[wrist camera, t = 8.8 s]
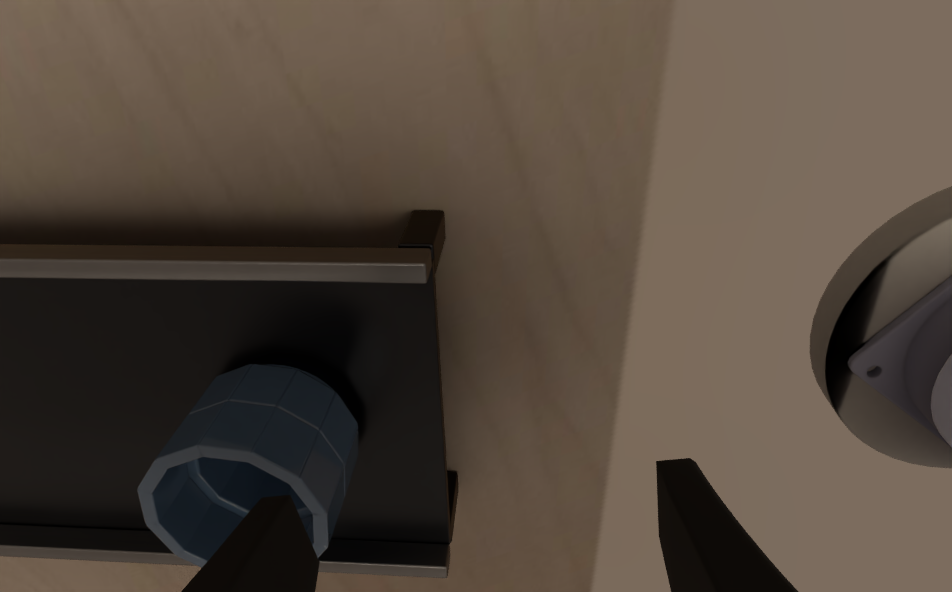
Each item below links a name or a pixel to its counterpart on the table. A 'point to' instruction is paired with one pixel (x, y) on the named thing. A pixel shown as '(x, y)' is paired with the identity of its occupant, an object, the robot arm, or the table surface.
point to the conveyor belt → (196, 365)
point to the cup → (251, 459)
